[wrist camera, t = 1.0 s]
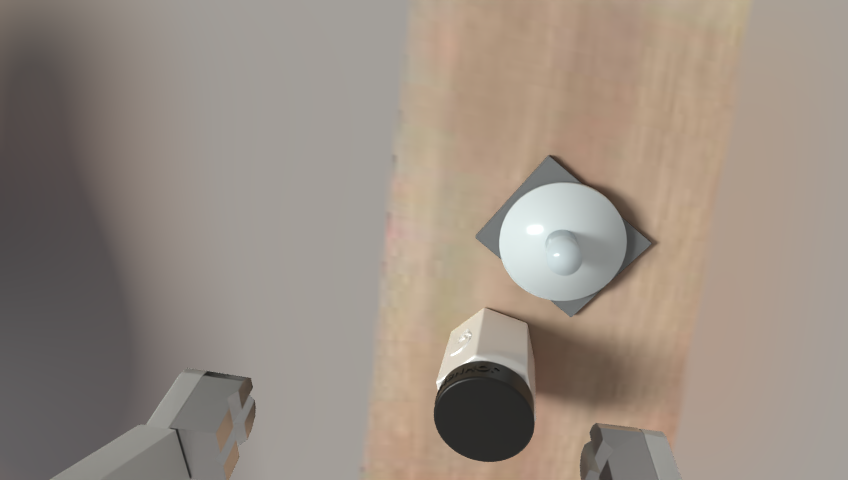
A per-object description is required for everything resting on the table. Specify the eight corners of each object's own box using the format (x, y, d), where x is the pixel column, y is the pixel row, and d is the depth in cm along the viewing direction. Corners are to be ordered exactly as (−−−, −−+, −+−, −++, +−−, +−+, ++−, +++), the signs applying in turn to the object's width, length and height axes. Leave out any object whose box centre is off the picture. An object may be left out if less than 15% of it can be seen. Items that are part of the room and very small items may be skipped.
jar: (500, 292, 49) (492, 355, 38) (553, 351, 50) (560, 430, 39) (434, 340, 52) (408, 412, 41) (485, 395, 53) (474, 480, 42)
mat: (649, 240, 45) (651, 243, 44) (570, 313, 48) (571, 317, 48) (548, 154, 44) (549, 156, 43) (476, 235, 48) (475, 237, 47)
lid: (651, 236, 44) (667, 255, 39) (563, 317, 48) (567, 344, 43) (557, 155, 43) (561, 165, 38) (475, 244, 47) (469, 263, 42)
